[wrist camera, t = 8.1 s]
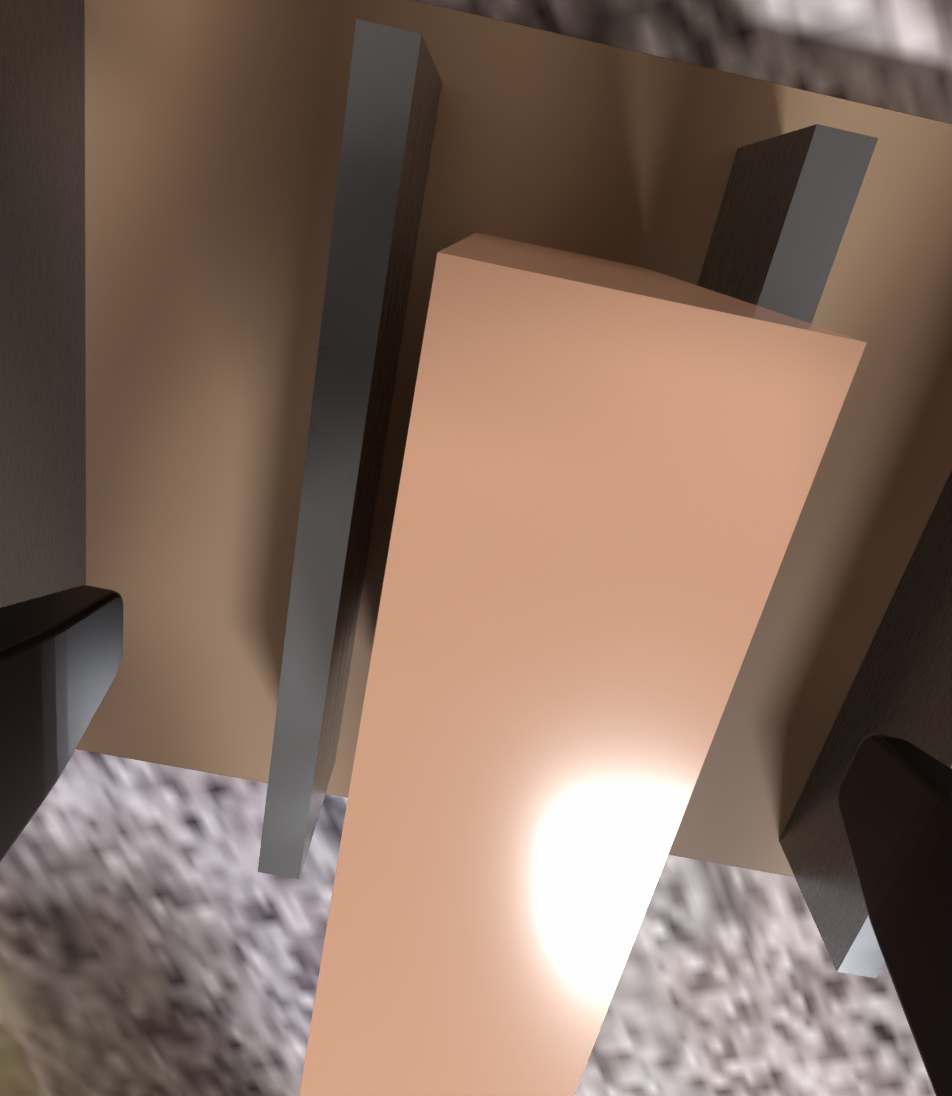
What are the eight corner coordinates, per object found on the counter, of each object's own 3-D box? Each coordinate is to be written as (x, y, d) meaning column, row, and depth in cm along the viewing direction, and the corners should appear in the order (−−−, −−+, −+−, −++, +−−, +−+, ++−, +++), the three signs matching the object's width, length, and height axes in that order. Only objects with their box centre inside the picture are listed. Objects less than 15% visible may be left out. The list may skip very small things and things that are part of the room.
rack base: (1146, 182, 14) (1193, 180, 13) (815, 853, 20) (831, 883, 19) (11, -79, 13) (-28, -101, 12) (37, 712, 19) (14, 737, 18)
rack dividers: (1111, 232, 13) (1309, 236, 10) (810, 846, 19) (875, 978, 15) (33, -12, 12) (-133, -93, 9) (51, 709, 18) (-49, 818, 14)
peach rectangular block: (643, 267, 14) (865, 341, 5) (522, 726, 17) (539, 1183, 9) (477, 232, 13) (437, 252, 5) (391, 703, 17) (291, 1145, 9)
